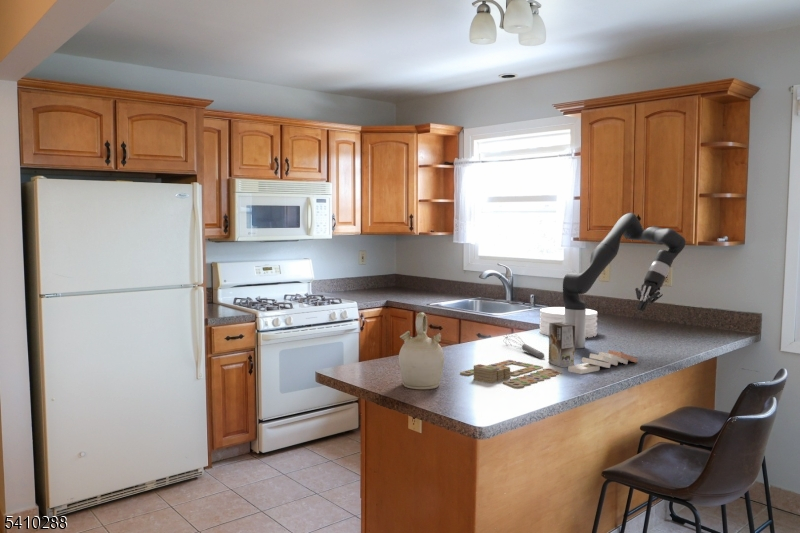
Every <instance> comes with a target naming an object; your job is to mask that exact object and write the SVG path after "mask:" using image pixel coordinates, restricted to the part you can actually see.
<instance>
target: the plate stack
mask: <svg viewBox="0 0 800 533" xmlns="http://www.w3.org/2000/svg"><path fill="white" fill-rule="evenodd" d="M539 312H540V314H539V318H540V319H539V323H540V324H539V328H540V329H539V333H540V334H541V335H546V336H548V337H549V323H556V322H563V323H564V313H565V306H551V307H550V306H549V307H543V308H540V310H539ZM597 321H598V311H597V310H594V309H590V308H586V322H585V339H586V338H587V337H588V338H593V336H594V337H596V336H598V334H597V333H598V332H597V331H598V322H597Z"/></svg>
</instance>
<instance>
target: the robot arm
mask: <svg viewBox="0 0 800 533" xmlns="http://www.w3.org/2000/svg"><path fill="white" fill-rule="evenodd" d="M622 237H624V238H625V239H627V240H631V241H646V242H650V243H653V244H656V245H660V246H661V245H663V246H666V247H667V248H668V250H665V249H659V250H658V252H656V255H655V257H654V259H653V261H652V263H651V265H650V266H649V269H648V270H647V272H646V275H645V277H644V279H643V281H644V283H643V284H641V287H639V288H638V287H636V288H635V289H634V290H635V291H634V292H635V294H636V299H637V300H639V303H638V304H637V311H639V312H644V311H645V310H646V308H647V306H648V305H649V304H653V303H655V302H656V301H657V300H659V299H660V298H661V297H663V293H662V292H661V288H662V287H663V285H664V283H665V281H666V279H667V276H668V274H669V271H670V268H671V266H672V264H673V262H674V261H675V259H676V257H678V255H680V253H681V252H682V251H683V250H684V248H685V246H686V239H685V237H684V236H682V235H681V234H680V233H678V232H677V231H676V230H675V229H672V228H667V227H666V228H663V227H659V226H649V227H647V228H645V229H644V228H643V227H642V223H641V222H640V220H639V219H638V217H637V215H636V214H635V213H633V212H627V213H626V214H623V215H622V216H621V217H620V218H619V219H618V220H617V222H616V223H615V224H614V226H613V227H612V228H611V230H609V232H608V234H607V235H606V236H605V237H604V238H603V239H602V240H601V241H600V242H599V244H598V245H597V246H595V247H594V249H592V252H591V254H590V260H589V262H590V263H589V265H588V267H587V268H586V269H585V270H584V271H582V272H581V273H579V272H567V273H566V274H565V276H564V277H563V279H562V301H563V304H564V307H565V313H564V323H567V324H571V325H575V349H583V348H585V347H586V338H585V322H586V309H587V303H586V302H585V301H584V300H582V299H581V298H580V296H579V295H583V294H586V293H588V292H589V291H590V290H591V288H592V287H593V285H594V284H595V282H596V281H597V279H598V278H599V277H600V275H601V274H602V273H603V272H604V270H605V269H606V268H607V267H608V265H610V263H611V262H612V261H614V259H615V258H616V257H617V255H618V253H619V249H620V245H621V240H622Z"/></svg>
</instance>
